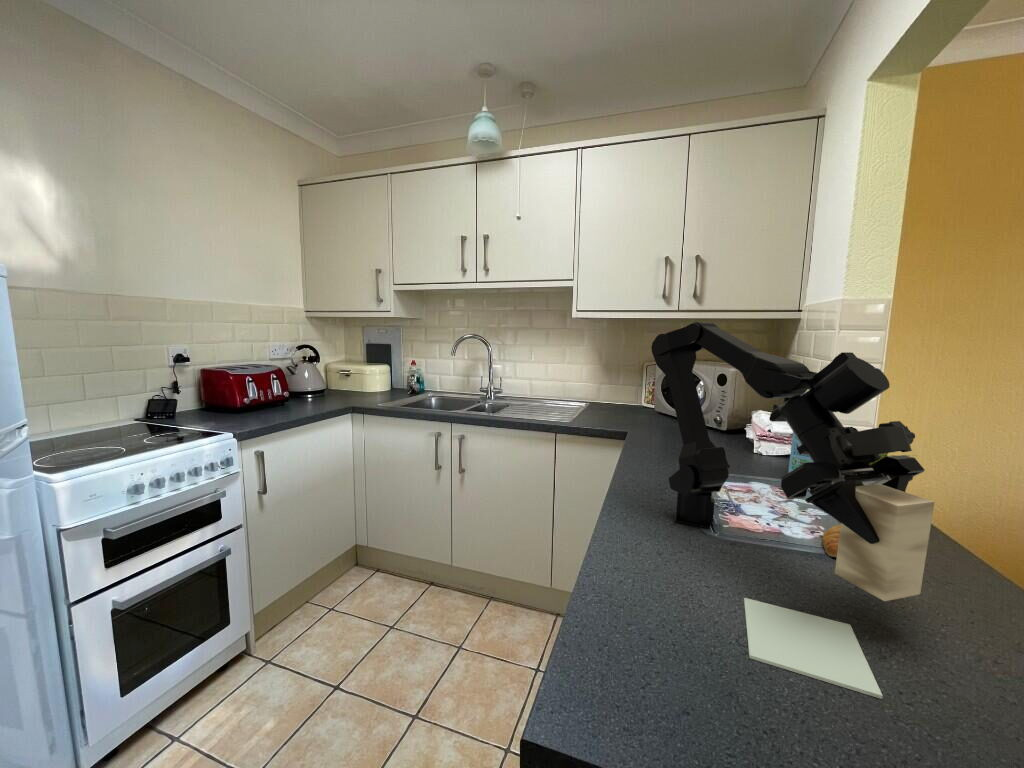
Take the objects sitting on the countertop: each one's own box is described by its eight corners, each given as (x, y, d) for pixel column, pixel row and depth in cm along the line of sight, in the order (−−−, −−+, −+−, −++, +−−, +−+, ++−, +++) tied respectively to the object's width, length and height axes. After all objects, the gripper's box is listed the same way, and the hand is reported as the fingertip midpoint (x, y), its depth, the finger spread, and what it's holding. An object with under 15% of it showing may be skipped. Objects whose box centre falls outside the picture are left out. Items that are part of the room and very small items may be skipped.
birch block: (834, 573, 56) (845, 487, 55) (868, 567, 58) (879, 483, 56) (884, 601, 50) (898, 506, 49) (920, 594, 52) (934, 501, 50)
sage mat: (749, 658, 49) (749, 654, 49) (743, 600, 59) (744, 597, 59) (882, 699, 43) (882, 695, 43) (849, 627, 54) (850, 624, 54)
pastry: (865, 570, 68) (867, 548, 67) (814, 555, 73) (816, 534, 72) (871, 550, 74) (874, 530, 74) (825, 537, 79) (826, 517, 79)
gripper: (810, 401, 52) (898, 524, 43) (917, 398, 57) (1017, 508, 48) (753, 445, 61) (817, 556, 52) (850, 439, 66) (924, 540, 57)
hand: (894, 540), depth 52 cm, fingers closed on birch block, 6 cm apart
